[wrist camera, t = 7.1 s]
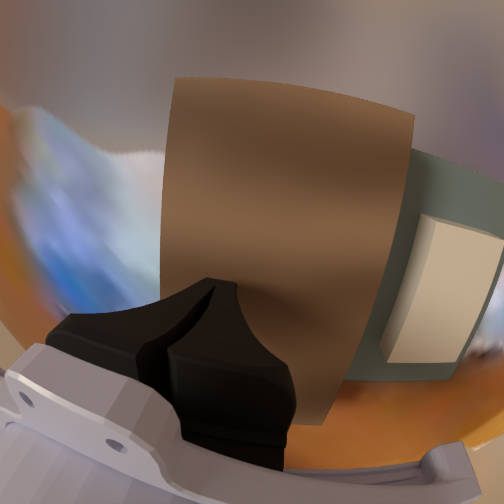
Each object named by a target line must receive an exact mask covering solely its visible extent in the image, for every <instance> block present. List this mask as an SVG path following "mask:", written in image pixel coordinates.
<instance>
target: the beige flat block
mask: <svg viewBox="0 0 504 504" xmlns="http://www.w3.org/2000/svg"><path fill="white" fill-rule="evenodd" d="M503 247H504V240H503V239H501V238H499V237H497V236H495V235H493V234H491V233H489V232H487V231H484V230H480V229H477V228H473V227H470V226H467V225H463V224H460V223H456V222H452V221H449V220H445V219H441V218H437V217H433V216H429V215H426V214H421V213H420V218H419V222H418V226H417V231H416V235H415V238H414V242H413V246H412V250H411V253H410V257H409V260H408V264H407V267H406V270H405V274H404V277H403V280H402V283H401V286H400V289H399V292H398V295H397V298H396V301H395V304H394V307H393V309H392V312H391V315H390V317H389V320H388V323H387V325H386V328H385V330H384V333H383V335H382V338H381V340H380V342H379V345H380V348H381V350H382V353H383V355H384V357H385V360H386V362H387V363H444V362H456V360H457V358H458V356H459V354H460V353H461V351H462V349H463V347H464V345H465V343H466V341H467V339H468V337H469V335H470V333H471V331H472V329H473V327H474V325H475V322H476V320H477V318H478V316H479V314H480V311H481V309H482V307H483V304H484V302H485V299H486V297H487V294H488V292H489V289H490V286H491V284H492V281H493V278H494V275H495V272H496V269H497V266H498V263H499V260H500V257H501V253H502V250H503Z"/></svg>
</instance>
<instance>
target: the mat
mask: <svg viewBox="0 0 504 504" xmlns="http://www.w3.org/2000/svg"><path fill="white" fill-rule="evenodd" d="M420 213H421V214H426V215H429V216H433V217H437V218H441V219H445V220H449V221H452V222H456V223H460V224H463V225H467V226H470V227H473V228H477V229H480V230H484V231H487V232H489V233H491V234H493V235H495V236H497V237H499V238H501V239H503V240H504V185H503V184H501V183H499V182H497V181H495V180H492V179H490V178H488V177H486V176H484V175H481V174H479V173H477V172H474V171H472V170H469V169H467V168H465V167H462V166H460V165H457V164H454V163H452V162H449V161H447V160H444V159H441V158H439V157H436V156H433V155H430V154H427V153H424V152H421V151H418V150H415V149H412V148H411V152H410V159H409V166H408V172H407V177H406V183H405V188H404V194H403V199H402V203H401V208H400V213H399V217H398V222H397V226H396V230H395V234H394V238H393V242H392V246H391V249H390V253H389V257H388V260H387V264H386V267H385V271H384V274H383V277H382V281H381V284H380V287H379V290H378V293H377V296H376V299H375V302H374V305H373V308H372V311H371V314H370V317H369V319H368V322H367V325H366V328H365V330H364V333H363V335H362V338H361V341H360V343H359V346H358V348H357V351H356V353H355V356H354V358H353V360H352V363H351V365H350V367H349V370H348V372H347V374H346V376H345V379H344V380H355V381H430V380H447V379H450V378H451V376H452V374H453V373H454V371H455V369H456V368H457V366H458V364H459V363H460V361H461V359H462V357H463V355H464V354H465V352H466V350H467V348H468V346H469V344H470V342H471V340H472V338H473V336H474V334H475V332H476V330H477V328H478V326H479V324H480V322H481V320H482V318H483V315H484V313H485V311H486V309H487V306H488V304H489V301H490V299H491V297H492V294H493V291H494V289H495V286H496V284H497V281H498V278H499V275H500V272H501V269H502V266H503V263H504V247H503V250H502V253H501V257H500V260H499V263H498V266H497V269H496V272H495V275H494V278H493V281H492V284H491V286H490V289H489V292H488V294H487V297H486V299H485V302H484V304H483V307H482V309H481V311H480V314H479V316H478V318H477V320H476V322H475V325H474V327H473V329H472V331H471V333H470V335H469V337H468V339H467V341H466V343H465V345H464V347H463V349H462V351H461V353H460V354H459V356H458V358H457V360H456V362H444V363H387V362H386V360H385V357H384V355H383V353H382V350H381V348H380V345H379V342H380V340H381V338H382V335H383V333H384V330H385V328H386V325H387V323H388V320H389V317H390V315H391V312H392V309H393V307H394V304H395V301H396V298H397V295H398V292H399V289H400V286H401V283H402V280H403V277H404V274H405V270H406V267H407V264H408V260H409V257H410V253H411V250H412V246H413V242H414V238H415V235H416V231H417V226H418V222H419V218H420Z"/></svg>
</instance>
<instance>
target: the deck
mask: <svg viewBox="0 0 504 504" xmlns="http://www.w3.org/2000/svg"><path fill="white" fill-rule="evenodd" d="M414 119H415V115H413V114H410V113H407V112H404V111H401V110H398V109H395V108H392V107H388V106H385V105H382V104H378V103H375V102H371V101H368V100H364V99H359V98H356V97H351V96H347V95H343V94H338V93H334V92H329V91H324V90H319V89H314V88H308V87H302V86H296V85H289V84H282V83H274V82H266V81H255V80H244V79H228V78H195V77H194V78H193V77H190V78H175V84H174V90H173V97H172V104H171V111H170V118H169V126H168V135H167V144H166V154H165V165H164V177H163V191H162V209H161V234H160V300H162V299H165V298H167V297H169V296H171V295H173V294H176V293H178V292H180V291H182V290H184V289H186V288H187V287H189V286H191V285H193V284H195V283H196V282H198V281H200V280H202V279H204V278H206V277H209V278H214V279H220V280H226V281H232V282H236V283H237V285H238V287H237V297H238V301H239V305H240V308H241V311H242V314H243V316H244V318H245V320H246V322H247V324H248V326H249V328H250V329H251V331H252V332H253V334H254V335H255V337H256V338H257V339H258V340H259V341H260V343H261V344H262V345H263V346H264V347H265V348H266V349H267V350H268V351H270V352H271V353H272V354H273V355H275V356H276V357H277V358H279V359H280V360H282V361H283V362H285V363H286V364H287V365H288V368H289V370H290V373H291V377H292V380H293V384H294V388H295V393H296V401H297V406H296V412H295V415H294V418H293V420H292V422H291V424H298V425H313V426H322V424H323V422H324V420H325V418H326V416H327V414H328V412H329V410H330V408H331V406H332V404H333V402H334V400H335V398H336V396H337V394H338V392H339V390H340V387H341V385H342V383H343V381H344V379H345V376H346V374H347V372H348V370H349V367H350V365H351V363H352V360H353V358H354V356H355V353H356V351H357V348H358V346H359V343H360V341H361V338H362V335H363V333H364V330H365V328H366V325H367V322H368V319H369V317H370V314H371V311H372V308H373V305H374V302H375V299H376V296H377V293H378V290H379V287H380V284H381V281H382V277H383V274H384V271H385V267H386V264H387V260H388V257H389V253H390V249H391V246H392V242H393V238H394V234H395V230H396V226H397V222H398V217H399V213H400V208H401V203H402V199H403V194H404V188H405V183H406V177H407V172H408V166H409V159H410V152H411V145H412V136H413V128H414Z"/></svg>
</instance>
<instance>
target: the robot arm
mask: <svg viewBox="0 0 504 504" xmlns="http://www.w3.org/2000/svg"><path fill="white" fill-rule="evenodd" d="M237 287H238V285H237V283H236V282H232V281H226V280H220V279H214V278H209V277H206V278H204V279H202V280H200V281H198V282H196V283H195V284H193V285H191V286H189V287H187V288H186V289H184V290H182V291H180V292H178V293H176V294H173V295H171V296H169V297H167V298H165V299H162V300H160V301H157V302H154V303H151V304H148V305H145V306H141V307H137V308H132V309H128V310H123V311H117V312H109V313H96V314H73V313H71V314H70V315H68V316H67V317H66V318H65V319H64V320H63V321H62V322H61V323H60V324H58V325H57V326H56V327H55V328H54V329H53V330H52V331H51V332H50V333H49V334H48V335H47V338H46V343H45V345H43V344H38V343H34V344H33V345H32V346H31V347H30V348H29V349H28V350H27V351H26V352H25V353H24V354H23V355H22V356H21V357H20V358H19V359H18V360H17V361H16V362H15V363H14V364H13V365H12V366H11V367H10V368H9V369H8V370H7V371H5V370H3V369H2V368H0V504H472V503H473V502H474V501H476V500H477V499H479V498H480V497H481V496H482V492H481V489H480V486H479V483H478V481H477V478H476V475H475V472H474V470H473V467H472V464H471V462H470V459H469V457H468V454H467V452H466V449H465V447H464V445H463V442H462V441H457V442H453V443H449V444H444V445H440V446H437V447H434V448H433V449H431V450H429V451H428V452H427V453H426V454H425V455H424V456H423V457H422V459H421V460H420V461H416V462H410V463H404V464H397V465H389V466H381V467H370V468H357V469H291V468H284V448H285V447H286V444H287V432H288V430H289V427H290V425H291V422H292V420H293V418H294V415H295V412H296V406H297V401H296V393H295V388H294V384H293V380H292V377H291V373H290V370H289V368H288V365H287V364H286V363H285V362H283V361H282V360H280V359H279V358H277V357H276V356H275V355H273V354H272V353H271V352H270V351H268V350H267V349H266V348H265V347H264V346H263V345H262V344H261V343H260V341H259V340H258V339H257V338H256V337H255V335H254V334H253V332H252V331H251V329H250V328H249V326H248V324H247V322H246V320H245V318H244V316H243V314H242V311H241V308H240V305H239V301H238V297H237Z"/></svg>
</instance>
